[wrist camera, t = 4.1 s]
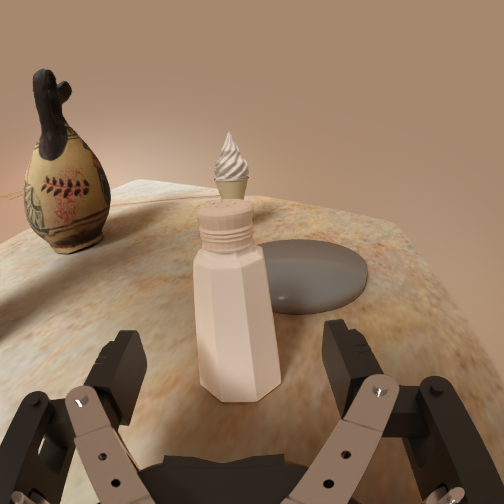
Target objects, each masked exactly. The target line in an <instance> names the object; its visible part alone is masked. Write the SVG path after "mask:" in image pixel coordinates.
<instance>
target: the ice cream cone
mask: <svg viewBox="0 0 504 504" xmlns="http://www.w3.org/2000/svg"><path fill="white" fill-rule="evenodd" d="M221 151H222V153H221V158H220V159H219V160H218V161H217V162H216V168H215V171H214V172H215V174H216V179H214V180H215V181H216V184H217V187H218V190H219V193H220V195H221V198H222V199H242V200H243V199H244V194H245V189H246V185H247V180H248V178H249V177H248V176H247V175H248V173H249V171H248V165H247V162H246V160H245V159H243V158H242V157H241V156H240V153H239V148H238V147H237V145H236V144H235V142H234V140H233V138H232V136H231V134H230V132H228V135H227V138H226V141H225V143H224V146H223V148H222V150H221Z"/></svg>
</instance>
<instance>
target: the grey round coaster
mask: <svg viewBox="0 0 504 504" xmlns="http://www.w3.org/2000/svg"><path fill="white" fill-rule="evenodd" d="M258 246H260V247H262V249H263V254H264V259H265V266H266V272H267V279H268V286H269V292H270V299H271V306H272V312H277V313H285V314H312V313H319V312H325V311H329V310H333V309H336V308H339V307H342V306H344V305H346V304H349V303H350V302H352V301H353V300H355V299H356V298H357V297H359V296H360V295H361V293H362V292H363V290H364V288H365V285H366V277H367V264H366V262H365V260H364V259H363V258H362V257H361V256H360V255H359V254H357V253H356V252H354V251H352V250H350V249H348V248H346V247H343V246H340V245H337V244H333V243H329V242H324V241H317V240H280V241H273V242H267V243H263V244H259V245H258Z"/></svg>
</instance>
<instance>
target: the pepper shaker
mask: <svg viewBox="0 0 504 504" xmlns="http://www.w3.org/2000/svg"><path fill="white" fill-rule="evenodd" d="M253 213H254V206H253V205H252V204H251V203H250V202H248V201H245V200H242V199H221V200H214V201H210V202H207V203H205V204H203V205H201V206H199V207H198V208H197V210H196V216H197V219H198V221H199V223H200V227H199V230H200V238H201V239H202V248H201V249H200V250H198V252H197V255H196V257H195V259H194V261H193V282H194V303H195V320H196V336H197V349H198V362H199V374H200V384H201V385H202V386H203V387H204V388H205V389H207V390H208V391H209V392H210V393H211V394H213V395H214V396H215V397H216V398H218V399H219V400H220V401H221V402H257V401H259V400H260V399H261V398H263V397H264V396H265V395H266V394H268V393H269V392H270V391H272V390H273V389H274V388H276V387H277V386H278V385H279V384H281V373H280V362H279V354H278V347H277V340H276V333H275V327H274V320H273V313H272V306H271V299H270V292H269V286H268V279H267V272H266V266H265V259H264V254H263V249H262V247H260V246H258V245H255V244H254V239H253V238H252V234H253V233H254V230H253V229H254V227H253V222H252V217H253Z"/></svg>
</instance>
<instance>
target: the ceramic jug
mask: <svg viewBox="0 0 504 504" xmlns="http://www.w3.org/2000/svg"><path fill="white" fill-rule="evenodd" d="M33 92H34V98H35V103H36V108H37V111H38V114H39V119H40V123H41V128H42V132H41V135H40V137H39V139H38V142H37V144H36V146H35V149H34V151H33V154H32V157H31V160H30V163H29V166H28V168H27V172H26V176H25V183H24V189H23V190H24V208H25V213H26V217H27V220H28V222H29V224H30V226H31V228H32V229H33V230H34V232H35V233H36V234H37V235H39V236H40V237H42V238H43V239H44V240H46V241H47V242H48V243H49V244H50V246H51V247H52V248H53V249H54V251H55V252H57V253H65V254H69V253H71V252H74V251H76V250H79V249H82V248H84V247H87V246H90V245H92V244H95V243H97V242H99V241H100V240H101V239H102V238H103V234H102V228H103V226H104V223H105V221H106V219H107V216H108V214H109V209H110V201H111V194H110V188H109V184H108V181H107V178H106V175H105V173H104V170H103V168H102V166H101V164H100V162H99V160H98V158H97V157H96V156H95V154H94V153H93V152H92V150H91V149H90V148H89V147H88V145H87V144H86V143H85V142H84V141H83V140H82V139H81V138H80V137H79V136H78V134H77V133H76V132H75V131H74V130H73V129H72V128H71V127H70V126H69V125H68V123H67V122H66V120H65V118H64V117H63V115H62V104H63V103H64V102H66V101H67V100H68V99H69V97H70V95H71V93H72V90H71V87H70V85H69V83H68V82H66V81H63V82H61V83H60V84H58V85H57V83H56V78H55V76H54V74H53V72H52V71H51V70H45V69H41V70H39V71H37V72H36V73H35V74H34V76H33Z"/></svg>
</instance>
